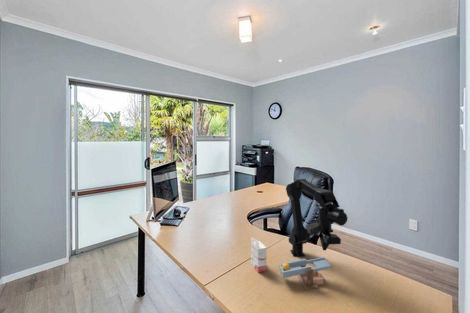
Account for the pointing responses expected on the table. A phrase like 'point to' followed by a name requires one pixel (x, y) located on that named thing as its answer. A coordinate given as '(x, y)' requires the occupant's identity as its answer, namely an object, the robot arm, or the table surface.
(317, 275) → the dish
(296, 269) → the lever
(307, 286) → the stand
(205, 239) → the table surface
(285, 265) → the ball
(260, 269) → the ink cartridge box
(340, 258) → the table surface
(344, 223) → the robot arm
